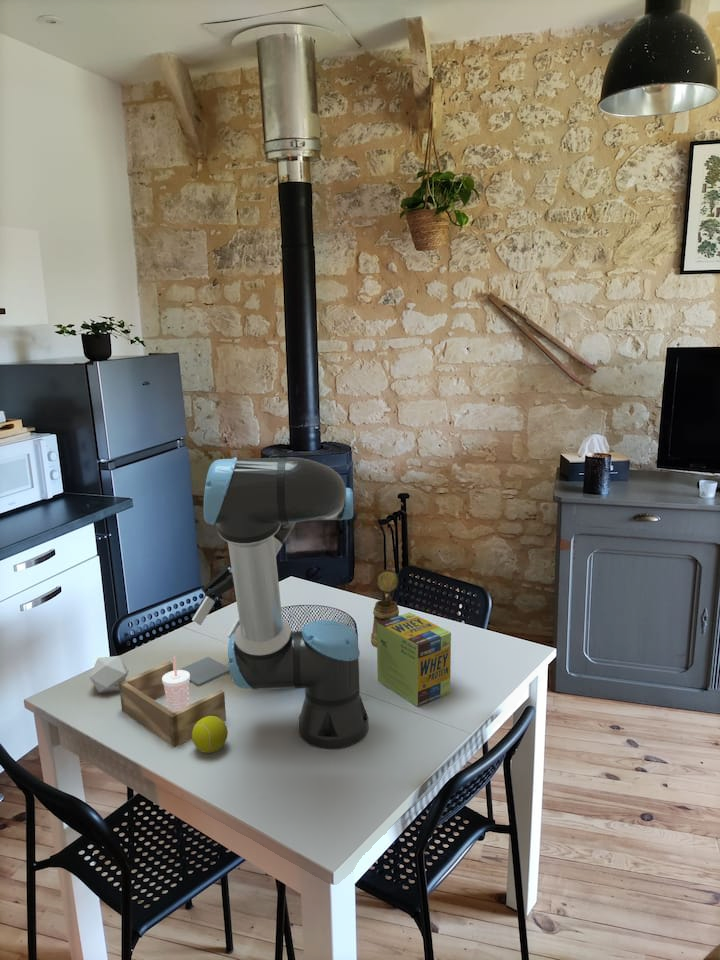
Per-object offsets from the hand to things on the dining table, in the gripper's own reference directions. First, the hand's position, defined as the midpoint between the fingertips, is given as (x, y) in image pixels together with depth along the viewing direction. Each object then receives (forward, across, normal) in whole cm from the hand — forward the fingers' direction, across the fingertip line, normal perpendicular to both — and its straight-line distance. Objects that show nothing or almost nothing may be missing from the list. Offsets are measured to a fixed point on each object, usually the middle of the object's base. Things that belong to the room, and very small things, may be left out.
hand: (213, 630), depth 161 cm
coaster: (+9, +11, -14) cm, 20 cm away
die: (+22, +22, -1) cm, 31 cm away
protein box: (-12, -33, -35) cm, 50 cm away
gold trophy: (-23, -12, -46) cm, 53 cm away
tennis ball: (+22, -17, -2) cm, 28 cm away
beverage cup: (+19, 0, -4) cm, 20 cm away
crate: (+20, 0, -3) cm, 20 cm away
